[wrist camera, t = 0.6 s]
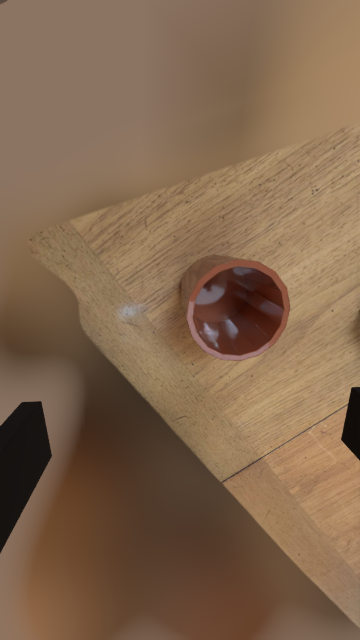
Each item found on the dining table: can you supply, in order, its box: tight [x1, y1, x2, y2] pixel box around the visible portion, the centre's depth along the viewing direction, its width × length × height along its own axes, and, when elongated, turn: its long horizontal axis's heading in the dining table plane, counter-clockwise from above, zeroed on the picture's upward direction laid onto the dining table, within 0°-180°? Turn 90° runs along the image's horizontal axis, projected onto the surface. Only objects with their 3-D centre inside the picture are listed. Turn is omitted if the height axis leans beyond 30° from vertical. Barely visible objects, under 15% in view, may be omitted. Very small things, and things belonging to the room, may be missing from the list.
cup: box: [180, 255, 290, 361], centre depth 25 cm, size 8×8×10 cm
